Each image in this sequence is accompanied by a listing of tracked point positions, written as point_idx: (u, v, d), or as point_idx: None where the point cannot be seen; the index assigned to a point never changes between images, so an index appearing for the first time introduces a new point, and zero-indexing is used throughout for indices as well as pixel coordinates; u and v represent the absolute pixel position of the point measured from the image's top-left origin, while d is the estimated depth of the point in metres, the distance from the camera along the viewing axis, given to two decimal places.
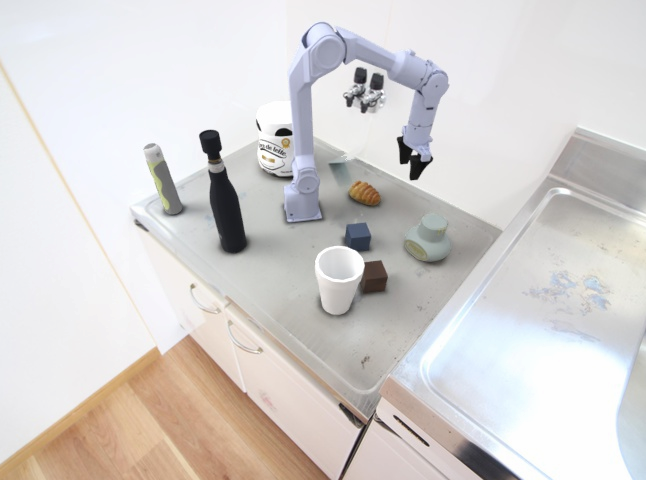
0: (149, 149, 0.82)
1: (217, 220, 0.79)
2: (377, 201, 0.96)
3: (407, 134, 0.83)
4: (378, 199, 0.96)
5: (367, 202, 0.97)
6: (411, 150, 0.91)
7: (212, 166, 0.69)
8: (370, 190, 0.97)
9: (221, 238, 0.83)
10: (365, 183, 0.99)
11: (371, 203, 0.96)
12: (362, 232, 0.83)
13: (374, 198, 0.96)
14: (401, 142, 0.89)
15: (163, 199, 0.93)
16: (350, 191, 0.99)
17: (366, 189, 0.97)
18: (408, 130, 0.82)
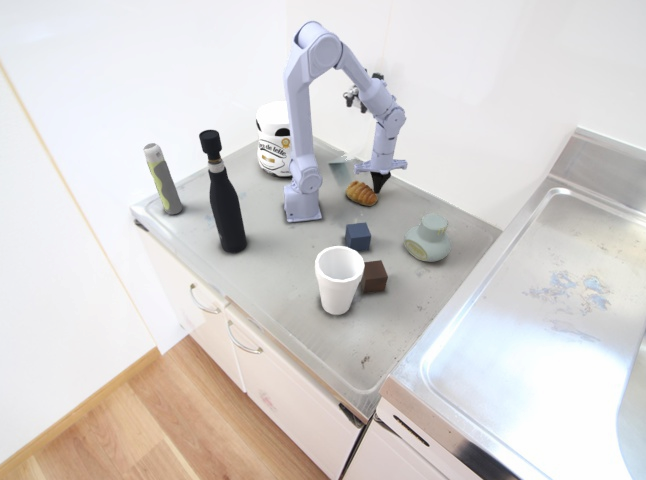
0: (149, 149, 0.82)
1: (217, 220, 0.79)
2: (373, 201, 0.96)
3: None
4: (374, 199, 0.96)
5: (364, 202, 0.97)
6: None
7: (212, 166, 0.69)
8: (367, 191, 0.97)
9: (221, 238, 0.83)
10: (362, 183, 0.99)
11: (367, 203, 0.96)
12: (362, 232, 0.83)
13: (370, 199, 0.96)
14: None
15: (163, 199, 0.93)
16: (347, 191, 0.99)
17: (363, 189, 0.97)
18: None
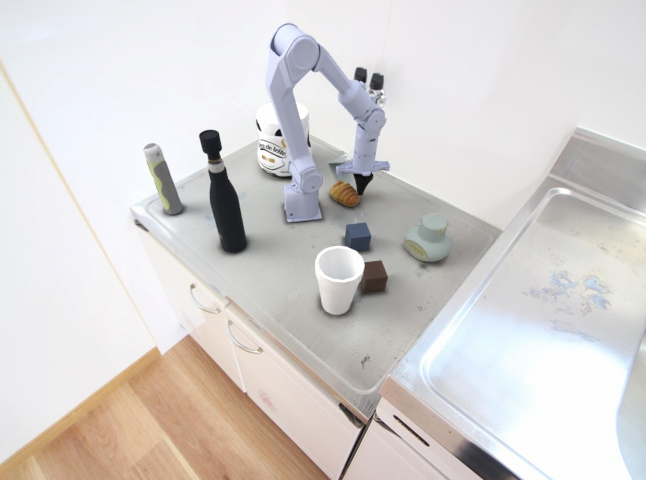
0: (149, 149, 0.82)
1: (217, 220, 0.79)
2: (354, 203, 0.96)
3: None
4: (356, 201, 0.96)
5: (345, 203, 0.97)
6: (362, 184, 0.95)
7: (212, 166, 0.69)
8: (349, 191, 0.97)
9: (221, 238, 0.83)
10: (346, 184, 0.99)
11: (348, 204, 0.96)
12: (362, 232, 0.83)
13: (351, 200, 0.96)
14: None
15: (163, 199, 0.93)
16: (330, 190, 0.99)
17: (345, 190, 0.97)
18: None
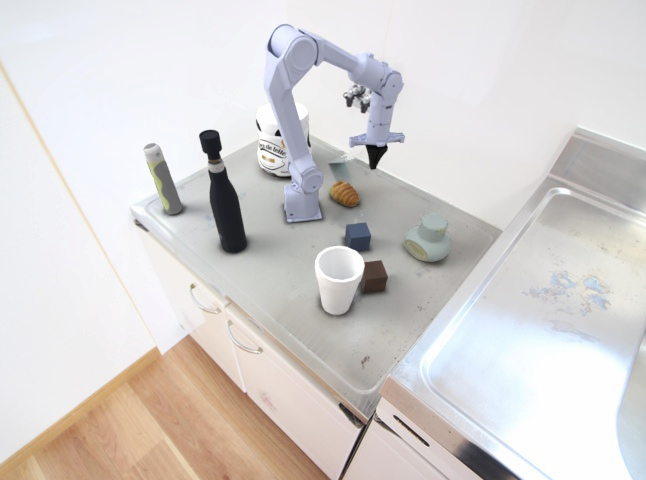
0: (149, 149, 0.82)
1: (217, 220, 0.79)
2: (354, 203, 0.96)
3: None
4: (355, 201, 0.96)
5: (345, 203, 0.97)
6: (376, 157, 0.92)
7: (212, 166, 0.69)
8: (349, 192, 0.97)
9: (221, 238, 0.83)
10: (346, 184, 0.99)
11: (348, 204, 0.96)
12: (362, 232, 0.83)
13: (351, 200, 0.96)
14: None
15: (163, 199, 0.93)
16: (330, 190, 0.99)
17: (345, 190, 0.97)
18: None
